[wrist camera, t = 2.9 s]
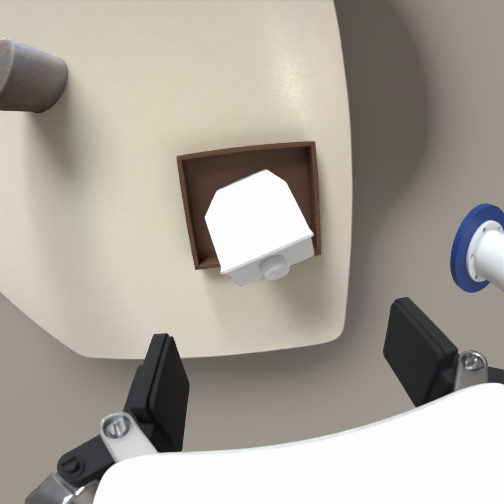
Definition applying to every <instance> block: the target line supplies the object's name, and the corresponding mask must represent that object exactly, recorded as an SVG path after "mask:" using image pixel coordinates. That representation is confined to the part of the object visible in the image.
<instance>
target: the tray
mask: <svg viewBox="0 0 504 504" xmlns="http://www.w3.org/2000/svg"><path fill="white" fill-rule="evenodd" d="M177 164H178V171H179V178H180V185H181V191H182V198H183V204H184V210H185V216H186V222H187V228H188V233H189V239H190V244H191V250H192V255H193V260H194V265H195V270H199V269H207V268H216V267H221V265H220V262H219V259H218V256H217V253H216V250H215V247H214V244H213V241H212V238H211V235H210V232H209V229H208V226H207V223H206V220H205V216H206V214H207V212H208V209H209V207H210V205H211V202H212V200H213V198H214V195H215V193H216V191H217V190H219V189H221V188H223V187H225V186H227V185H229V184H231V183H234V182H236V181H238V180H240V179H243V178H245V177H247V176H249V175H252V174H254V173H256V172H259V171H261V170H263V169H267V170H268V171H270V172H271V173H273V174H274V175H276V176H277V177H279V178H280V179H282V180H283V181H285V182H286V183H287V185H288V187H289V189H290V191H291V193H292V195H293V197H294V199H295V201H296V203H297V205H298V207H299V209H300V211H301V213H302V215H303V217H304V219H305V221H306V223H307V225H308V227H309V229H310V230H311V231H312V232H313V236H311V238H312V244H313V249H314V255H313V256H315V255H321V232H320V207H319V188H318V172H317V159H316V147H315V141H311V142H292V143H278V144H266V145H255V146H246V147H237V148H229V149H221V150H213V151H206V152H200V153H193V154H187V155H181V156H177Z"/></svg>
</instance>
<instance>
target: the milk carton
mask: <svg viewBox="0 0 504 504" xmlns="http://www.w3.org/2000/svg"><path fill="white" fill-rule="evenodd" d="M205 220H206V223H207V226H208V229H209V232H210V235H211V238H212V241H213V244H214V247H215V250H216V253H217V256H218V259H219V262H220V265H221V274H225V273H227V274H228V275H229V276H230V277H231V278H232V279H233V280H234V281H235V282H236V283H237V284H238V285H239V286H244V285H246V284H249V283H251V282H254V281H256V280H258V279H261V278H263V277H264V278H265V279H266V280H268V281H272V280H276V279H279V278H281V277H283V276H285V275H286V274H287V273H288V272H289V266H291V265H294V264H296V263H298V262H301V261H303V260H305V259H307V258H309V257H311V256H313V255H314V249H313V244H312V238H311V236H313V232H312V231H311V230H310V229H309V227H308V225H307V223H306V221H305V219H304V217H303V215H302V213H301V211H300V209H299V207H298V205H297V203H296V201H295V199H294V197H293V195H292V193H291V191H290V189H289V187H288V185H287V183H286V182H285V181H283V180H282V179H280V178H279V177H277V176H276V175H274V174H273V173H271V172H270V171H268V170H267V169H263V170H261V171H259V172H256V173H254V174H252V175H249V176H247V177H245V178H243V179H240V180H238V181H236V182H234V183H231V184H229V185H227V186H225V187H223V188H221V189H219V190H217V191H216V193H215V195H214V198H213V200H212V202H211V205H210V207H209V209H208V212H207V214H206V216H205Z"/></svg>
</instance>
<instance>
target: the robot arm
mask: <svg viewBox="0 0 504 504" xmlns="http://www.w3.org/2000/svg"><path fill="white" fill-rule="evenodd" d="M466 269H467V273H468V275H469V276H470V278H471V279H473V280H474V281H477V282H482V281H484V280H488V281H489V282H491V283H492V284H493V285H495V286H496V287H498V288H499V289H501V290H502V291H503V292H504V231H503V228H502V227H501V225H500V224H499V223H497V222H495V221H492V220H490V221H486V222H484V223H483V224H482V225H481V226H480V227H479V228H478V229H477V231H476V232H475V233H474V235H473V237H472V239H471V242H470V244H469V247H468V251H467V256H466ZM383 354H384V357H385V359H386V360H387V362H388V363H389V365H390V366H391V368H392V370H393V371H394V373H395V374H396V376H397V377H398V379H399V381H400V382H401V384H402V386H403V387H404V389H405V390H406V392H407V394H408V395H409V397H410V399H411V400H412V402H413V404H414V405H415V407H417V408H414V409H412V410H409V411H407V412H404V413H401V414H399V415H396V416H393V417H390V418H387V419H384V420H381V421H378V422H375V423H372V424H368V425H365V426H362V427H358V428H354V429H351V430H347V431H343V432H339V433H335V434H331V435H327V436H322V437H318V438H313V439H308V440H302V441H297V442H291V443H285V444H279V445H272V446H264V447H255V448H247V449H246V448H245V449H233V450H220V451H198V452H181V451H182V446H183V437H184V428H185V418H186V411H187V403H188V395H189V381H188V378H187V375H186V373H185V370H184V367H183V364H182V361H181V359H180V356H179V353H178V350H177V347H176V344H175V341H174V338H173V337H172V336H171V337H169V335H168V334H167V333H164V334H154V335H153V338H152V340H151V343H150V346H149V349H148V352H147V355H146V358H145V360H144V363H143V365H140V366H139V367H138V369H137V371H136V374H135V377H134V380H133V383H132V385H131V389H130V391H129V394H128V398H127V401H126V404H125V407H124V410H123V412H114V413H111V414H109V415H107V416H106V417H104V419H103V420H102V421H101V423H100V425H99V433H100V435H98V436H96V437H94V438H93V439H91V440H89V441H87V442H86V443H84V444H82V445H81V446H79V447H77V448H75V449H73V450H71V451H70V452H68V453H66V454H64V455H63V456H62V457H61V458H60V460H59V462H58V464H57V470H58V472H57V473H56V474H53V473H51V474H50V475H49V476H48V477H47V478H46V479H45V480H44V481H43V482H42V483H41V484H40V485H39V486H38V487H37V488H36V489H35V490H34V491H33V492H32V493H31V494H30V495H29V496H28V497H27V498H26V500H25V504H504V370H502V369H498V368H492V367H488V364H487V360H486V358H485V357H484V356H483V355H482V354H481V353H479V352H477V351H471V350H469V351H464V352H463V353H461V354H460V355H459V353H458V349H457V347H456V346H455V345H454V344H453V343H452V342H451V341H450V340H449V339H448V338H447V337H446V336H445V334H444V333H443V332H442V331H441V330H440V329H439V328H438V327H437V326H436V325H435V324H434V323H433V322H432V321H431V320H430V319H429V318H428V317H427V316H426V315H425V314H424V313H423V312H422V311H421V310H420V309H419V308H418V307H417V306H416V305H415V304H414V303H413V302H412V301H411V300H410V299H409V298H408V297H404V298H400V299H396V300H395V301H394V303H393V304H392V305H391V310H390V316H389V322H388V328H387V334H386V339H385V344H384V349H383Z"/></svg>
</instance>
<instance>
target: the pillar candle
mask: <svg viewBox="0 0 504 504" xmlns="http://www.w3.org/2000/svg"><path fill="white" fill-rule="evenodd" d="M66 81H67V67H66V65H65V63H64V61H63V60H61V59H59V58H57V57H55V56H53V55H50V54H48V53H45V52H43V51H40V50H37V49H34V48H32V47H29V46H26V45H23V44H20V43H17V42H15V41H12V40H9V39H7V38H6V39H2V40H0V110H2V111H26V112H34V113H42V112H44V111H46V110H47V109H50V108H51V107H52V106H53V105H54V104H55V103H56V102H57V100H58V99H59V98H60V96H61V94H62V93H63V91H64V88H65V85H66Z"/></svg>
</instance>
